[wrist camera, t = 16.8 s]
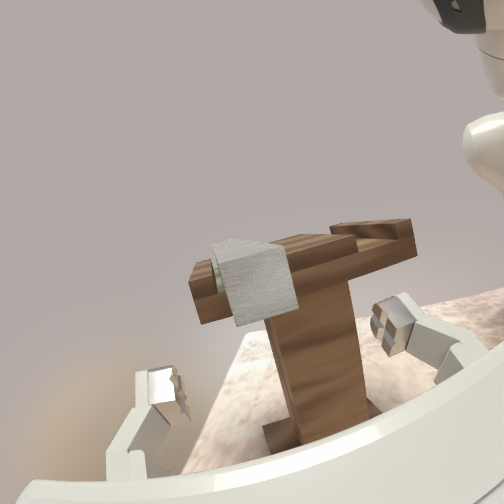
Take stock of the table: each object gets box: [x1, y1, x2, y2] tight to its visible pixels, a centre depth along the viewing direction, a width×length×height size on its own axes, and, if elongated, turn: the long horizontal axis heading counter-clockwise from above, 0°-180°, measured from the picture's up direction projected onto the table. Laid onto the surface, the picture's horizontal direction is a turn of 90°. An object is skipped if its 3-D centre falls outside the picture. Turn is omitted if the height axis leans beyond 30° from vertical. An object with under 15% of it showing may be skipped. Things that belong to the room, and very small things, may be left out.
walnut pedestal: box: [188, 219, 417, 455], centre depth 34 cm, size 16×20×28 cm
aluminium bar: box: [212, 238, 299, 327], centre depth 27 cm, size 26×3×3 cm, turn 8°
